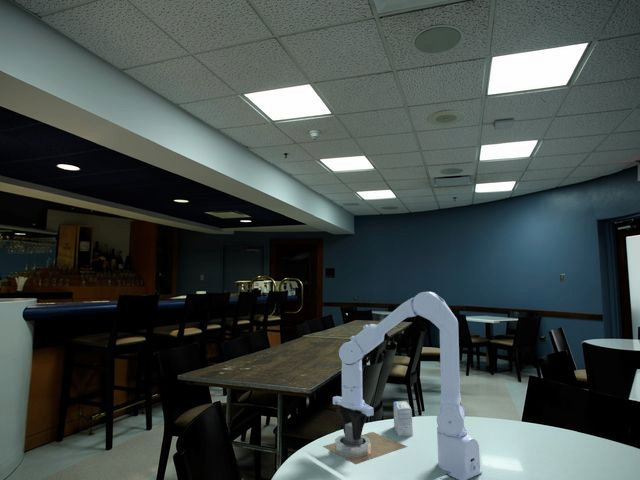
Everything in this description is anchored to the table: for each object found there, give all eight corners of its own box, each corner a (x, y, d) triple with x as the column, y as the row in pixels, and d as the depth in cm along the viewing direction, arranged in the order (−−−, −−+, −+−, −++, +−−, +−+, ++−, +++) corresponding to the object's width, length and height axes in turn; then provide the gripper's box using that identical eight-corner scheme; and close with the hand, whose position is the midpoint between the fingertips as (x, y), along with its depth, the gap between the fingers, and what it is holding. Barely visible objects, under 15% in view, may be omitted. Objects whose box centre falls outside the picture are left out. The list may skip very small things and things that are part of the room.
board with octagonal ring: (407, 449, 111) (407, 437, 111) (355, 467, 100) (355, 453, 100) (372, 434, 122) (372, 423, 122) (323, 449, 111) (322, 436, 111)
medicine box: (413, 438, 119) (412, 408, 120) (398, 438, 119) (397, 408, 120) (407, 429, 127) (407, 401, 128) (393, 429, 127) (393, 401, 128)
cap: (367, 446, 108) (367, 424, 109) (352, 451, 105) (352, 429, 105) (353, 439, 113) (353, 419, 113) (338, 444, 109) (338, 423, 110)
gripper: (381, 388, 107) (382, 441, 106) (345, 378, 119) (345, 426, 117) (362, 392, 103) (363, 448, 101) (327, 382, 114) (327, 431, 113)
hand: (352, 437), depth 109 cm, fingers closed on cap, 3 cm apart
